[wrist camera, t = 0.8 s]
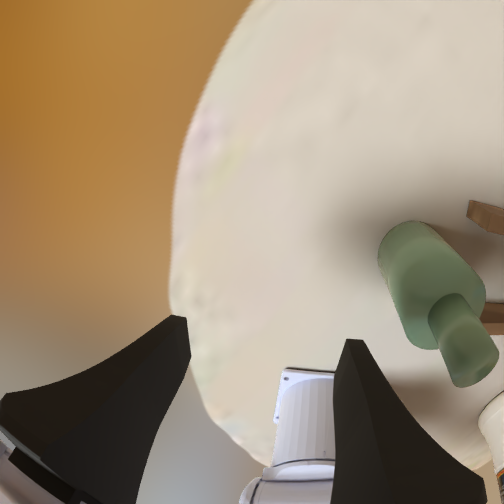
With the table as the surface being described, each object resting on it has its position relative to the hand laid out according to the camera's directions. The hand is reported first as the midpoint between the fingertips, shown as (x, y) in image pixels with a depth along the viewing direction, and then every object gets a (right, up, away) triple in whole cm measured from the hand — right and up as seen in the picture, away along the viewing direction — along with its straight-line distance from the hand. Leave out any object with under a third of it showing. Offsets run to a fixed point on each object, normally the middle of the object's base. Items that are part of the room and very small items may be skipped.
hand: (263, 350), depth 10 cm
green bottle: (+11, +3, +8) cm, 14 cm away
